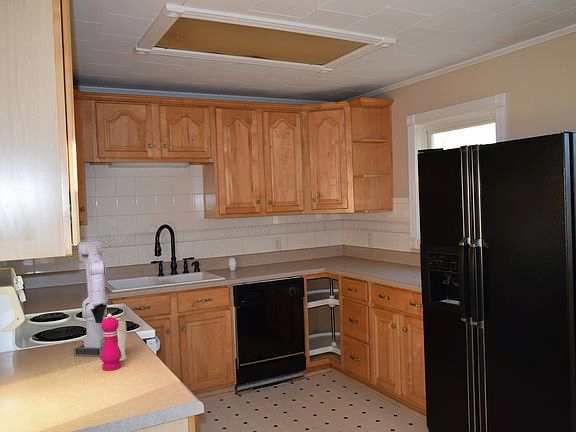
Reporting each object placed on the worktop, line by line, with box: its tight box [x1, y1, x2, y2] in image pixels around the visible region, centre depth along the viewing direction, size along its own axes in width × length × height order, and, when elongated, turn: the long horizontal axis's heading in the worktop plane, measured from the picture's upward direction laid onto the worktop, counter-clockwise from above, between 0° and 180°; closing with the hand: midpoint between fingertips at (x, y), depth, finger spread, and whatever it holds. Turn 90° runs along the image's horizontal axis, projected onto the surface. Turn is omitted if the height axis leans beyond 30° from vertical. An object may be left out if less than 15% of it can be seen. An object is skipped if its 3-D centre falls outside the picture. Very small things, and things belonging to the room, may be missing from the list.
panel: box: [83, 336, 104, 348], centre depth 201 cm, size 2×7×6 cm, turn 80°
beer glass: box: [116, 318, 128, 362], centre depth 192 cm, size 7×7×15 cm
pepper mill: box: [99, 312, 122, 372], centre depth 182 cm, size 7×7×20 cm
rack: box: [73, 343, 103, 358], centre depth 201 cm, size 9×12×3 cm
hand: (99, 322), depth 209 cm, fingers closed
